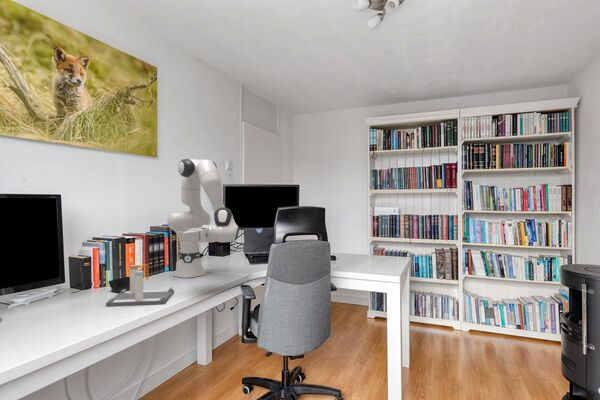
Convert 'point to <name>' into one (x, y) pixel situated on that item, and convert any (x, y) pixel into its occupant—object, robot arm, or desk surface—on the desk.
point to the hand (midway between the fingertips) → (177, 233)
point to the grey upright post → (132, 277)
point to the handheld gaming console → (120, 284)
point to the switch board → (148, 298)
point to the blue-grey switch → (139, 285)
